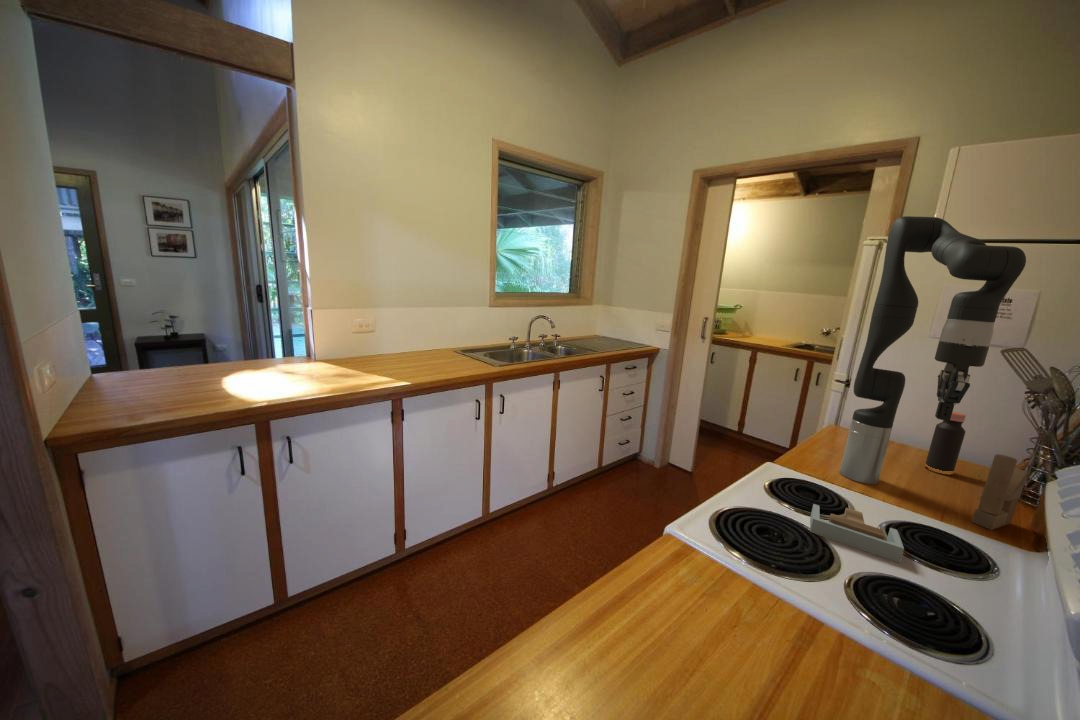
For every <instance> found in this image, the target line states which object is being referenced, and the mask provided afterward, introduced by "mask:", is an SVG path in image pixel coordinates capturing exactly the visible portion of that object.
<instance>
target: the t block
mask: <svg viewBox="0 0 1080 720" xmlns="http://www.w3.org/2000/svg"><path fill="white" fill-rule="evenodd" d="M843 514H844V515H843V516H840V515H837V514H835V513H830V515H829V520H828V521H829V522H832V523H835V524H838V525H841V526H844V527H847V528H850V529H853V530H856V531H859V532H862V533H865V534H868V535H871V536H875V537H878V538H881V539H884V540H885V533H884V529H881V528H878V527H876V526H873V525H869V524H866V523H865V520H864V515H863V512H862V511H857V510H854V509H851V508H849V507H845V510H844V513H843Z"/></svg>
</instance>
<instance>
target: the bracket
mask: <svg viewBox="0 0 1080 720" xmlns="http://www.w3.org/2000/svg"><path fill="white" fill-rule="evenodd" d="M820 515H821V514H820V505H818V504H815V503H813V504H812V508H811V513H810V517H809V518H810V520H809V521H810V522H809V523H810V524H809V532H810V533H813V534H815V535H818V536H821V537H824V538H827V539H829V540H832V541H835V542H838V543H841V544H843V545H847V546H848V547H849V546H850V547H853V548H855V549H858V550H861V551H864V552H867V553H870V554H873V555H875V556H878V557H880V558H881V557H882V558H885V559H887V560H890V561H893V562H895V563H896V562H897V563H899V564H900V563H901V561H902V557H903V554H904V550H905V547H904V545H903V542H902V539H901V536H900V533H899V532H898V529H896V528H893V527H889V531H888V534H887V538H886V539H885V538H884V539H881V538H878V537H875V536H871V535H868V534H865V533H862V532H859V531H856V530H853V529H850V528H847V527H844V526H841V525H838V524H835V523H832V522H829V520H825V519H822V518H820V517H821V516H820Z"/></svg>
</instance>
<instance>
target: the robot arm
mask: <svg viewBox="0 0 1080 720" xmlns="http://www.w3.org/2000/svg"><path fill="white" fill-rule="evenodd" d="M884 253H885V254H884V261H883V265H882V266H883V268H882V273H881V278H880V283H879V286H878V291H877V293H876V294H877V295H876V298H875V300H874V301H875V302H874V305H873V308H872V314H871V317H870V323H869V328H868V334H867V338H866V343H865V346H864V349H863V353H862V356H861V360H860V363H859V366H858V368H857V369H858V370H857V373H856V376H855V379H854V383H853V394H854V396H855V397H856V398H857V397H858V398H860V399H866V400H870V401H871V400H872V401H877V402H881V403H882V402H883V403H882V404H880V405H878V406H875V407H870V408H869V407H868V408H859V409H855V410H854V412H853V413H852V419H851V423H850V427H849V431H848V435H847V440H846V443H845V448H844V451H843V456H842V460H841V463H840V468H839V473H840V475H842V476H843V477H845V478H847V479H849V480H852V481H855V482H858V483H862V484H867V485H877V484H878V483H879V480H880V476H881V472H882V468H883V464H884V461H885V457H886V454H887V449H888V446H889V443H890V442H889V441H890V437H891V433H892V429H893V426H894V422H895V419H896V414H897V411H898V408H899V404H900V401H901V398H902V396H903V393H904V390H905V385H906V376H905V374H904V373H903V372H901V371H896V370H889V369H883V368H876V367H874V365H875V364H876V362H877V360H879V357H880V356H881V355H882V354H883V353H885V351H886V350H887V349H888V348H889V347H890V346H891V345H893V344H894V343H895V342H897V341H898V340H899V339H900V338H901V337H903V336H904V335H905V334H906V333H907V332H908V331H909V330H910V329H911V328H912V327H913V325H914V322H915V318H916V315H917V310H918V307H919V299H918V295H917V293H916V290H915V288H914V286H913V285H912V283H911V281H910V279H909V277H908V275H907V272H906V269H905V268H906V267H905V259H906V258H905V257H906V256H905V255H906V253H919V254H920V253H921V254H923V253H931V255H932V256H931V257H933V259H934V260H935V261H936V262H938V263H940V264H941V265H944V266H946V268H947V270H948V272H949V275H950V276H952V277H954V278H957V279H960V280H968V281H984V282H985V283H984V284H983V285H982V286H981V288H979V289H978V290H971V291H970V290H969V291H962V292H958V293H956V294H954V295H953V297H952V299H951V303H950V305H949V310H948V313H947V317H946V320H945V323H944V325H943V328H942V330H941V334H940V336H939V341H938V344H937V348H936V351H935V354H934V355H935V356H934V359H935V361H936V362H939V363H940V362H941V363H946V364H945V366H944V369H941V370H940V372H939V374H938V376H937V389H936V391H937V392H936V397H937V401H938V403H937V407H936V410H935V414H934V417H935V418H936V419H938V420H941V421H943V420H946V421H949V420H950V419H951V415H952V412H954V408H955V405H957V404H960V403H961V401H962V400H963V398H964V396H965V395H966V393H967V391H968V390H969V389H970V387H971V384H970V380H971V374H969V371H970V370H969V368H970V367H975V368H981V367H984V366H985V362H986V360H987V356H988V352H989V350H990V347H991V342H992V340H993V335H994V328H995V327H994V326H995V322H996V319H997V315H998V312H999V309H1000V306H1001V304H1002V302H1003V299H1004V298H1005V297H1006V296H1007V294H1008V293H1009V291H1010V289H1011V288H1012V287H1013V285H1014V284H1015V282H1016V281H1017V279H1019V277H1020V275H1021V274H1022V272H1023V271H1024V269H1025V267H1026V263H1027V256H1026V253H1025V252H1024V250H1023V249H1021V248H1019V247H1017V246H1011V245H1010V246H1006V245H988V244H986V242H984V241H982V240H981V239H978V238H976V237H972V236H970V235H967V234H964V233H961V232H960V231H959V230H957V229H956V228H955V227H953V226H952V225H951V224H950V223H949V221H946V220H945V219H943V218H941V217H935V216H910V215H909V216H908V215H907V216H900V217H898V218H896V219H895V220H894V221H893V223H892V225H891V227H890V230H889V233H888V235H887V241H886V248H885V252H884Z"/></svg>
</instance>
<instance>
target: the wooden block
mask: <svg viewBox="0 0 1080 720" xmlns="http://www.w3.org/2000/svg"><path fill="white" fill-rule="evenodd" d="M1017 463H1018V460H1017V458H1015V457H1012V456H1008V455H1005V454H1000V453H999V454H997V453H996V454H995V455H994V457H993V460H992V464H991V466H990V469H989V471H988V475H987V478H986V482H985V485H984V488H983V492H982V493H981V494H982V495H981V496H980V497H981V498H980V501H979V503H978V508H977V509H975V510H974V514H973V517H972V519H971V523H973V524H976V525H978V526H980V527H983V528H985V529H987V530H990V531H993V530H995V529H997V528H1002V527H1004V526H1008V525H1010V524H1012V522H1013V518H1014V515H1015V513H1016V512H1015V511H1016V509H1017V506H1018V504H1019V499H1020V498H1021V495H1022V493H1023V489H1024V487H1025V484H1026V480H1027V477H1028V474H1029V471H1026V470H1023V469H1020V468H1019V467H1018V468H1017V467H1016V466H1017Z"/></svg>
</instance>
